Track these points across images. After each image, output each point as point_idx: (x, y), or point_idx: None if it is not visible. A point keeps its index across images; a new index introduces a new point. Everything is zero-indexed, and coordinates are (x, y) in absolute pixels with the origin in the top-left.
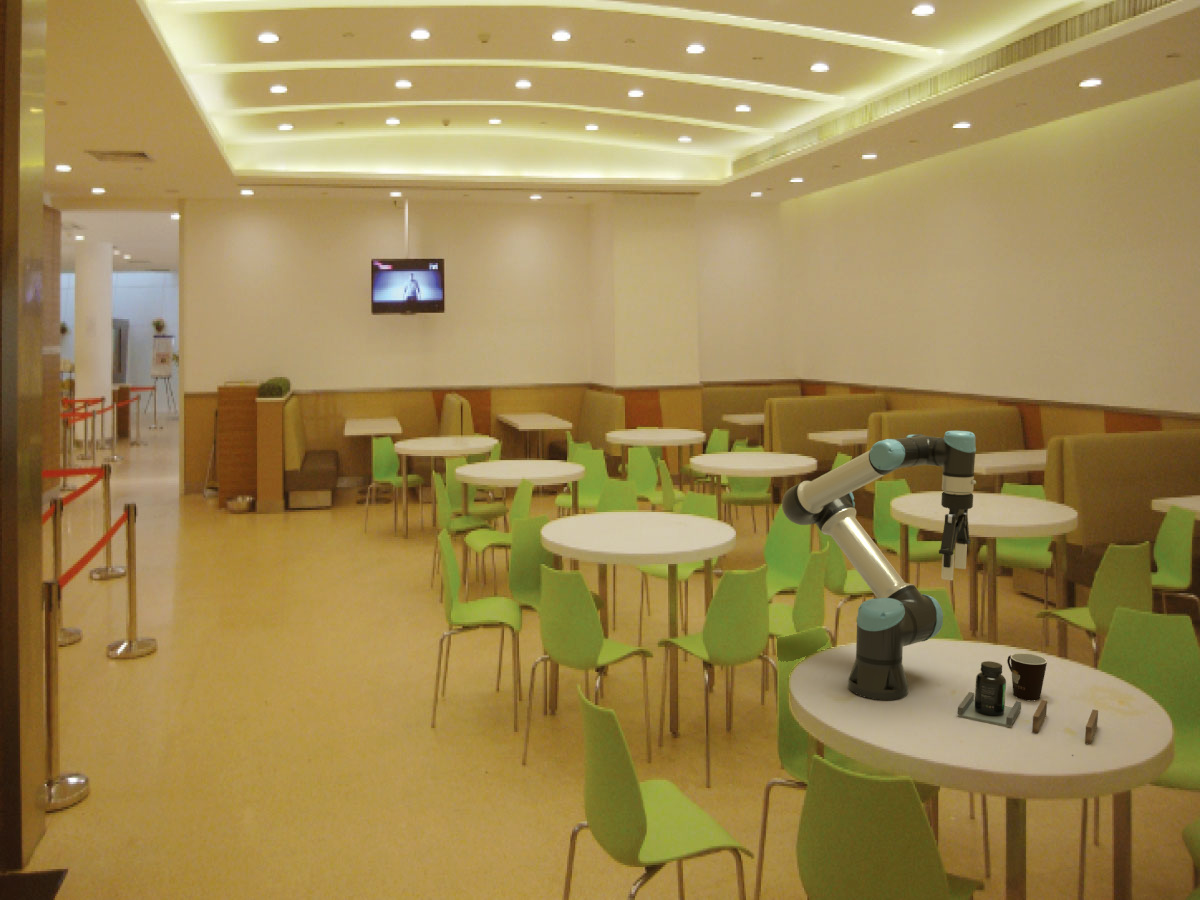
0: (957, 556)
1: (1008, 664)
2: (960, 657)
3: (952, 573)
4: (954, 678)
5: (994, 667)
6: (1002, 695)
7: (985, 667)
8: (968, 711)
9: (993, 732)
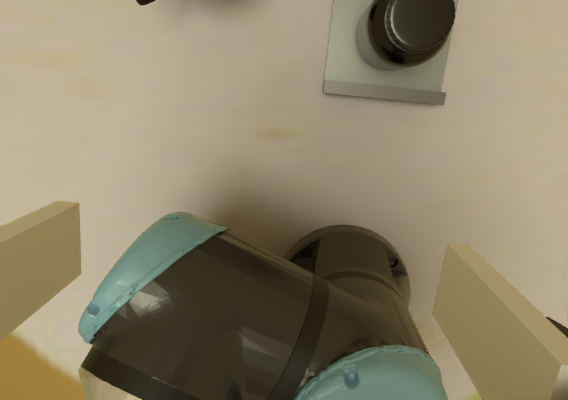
0: (26, 300)
1: (148, 2)
2: (20, 149)
3: (492, 268)
4: (182, 143)
5: (452, 2)
6: None
7: (447, 33)
8: (409, 82)
9: (504, 12)
